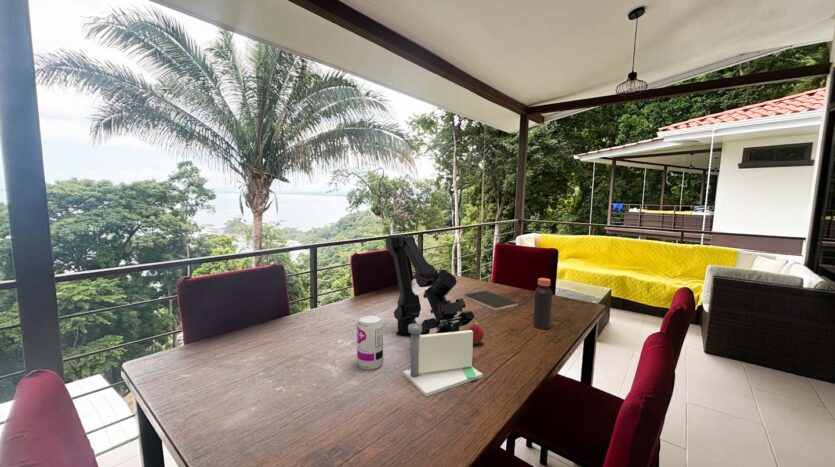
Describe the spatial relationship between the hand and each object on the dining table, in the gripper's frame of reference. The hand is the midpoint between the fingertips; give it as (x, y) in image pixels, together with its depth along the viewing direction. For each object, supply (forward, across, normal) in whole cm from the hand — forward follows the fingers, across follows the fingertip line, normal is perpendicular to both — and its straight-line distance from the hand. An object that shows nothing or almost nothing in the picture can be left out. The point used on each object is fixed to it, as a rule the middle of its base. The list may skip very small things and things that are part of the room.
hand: (458, 347), depth 105 cm
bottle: (-3, +52, +13) cm, 54 cm away
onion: (-3, +18, +14) cm, 23 cm away
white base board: (+6, -6, +5) cm, 9 cm away
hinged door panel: (+4, -6, +5) cm, 9 cm away
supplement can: (-7, -22, +17) cm, 29 cm away
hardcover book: (-27, +56, +38) cm, 74 cm away
